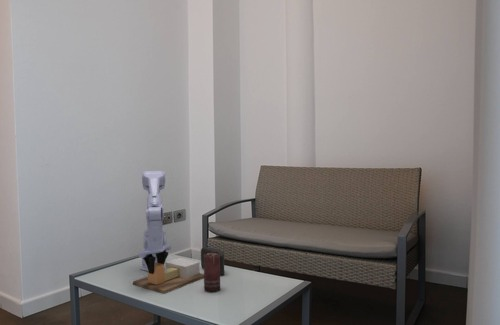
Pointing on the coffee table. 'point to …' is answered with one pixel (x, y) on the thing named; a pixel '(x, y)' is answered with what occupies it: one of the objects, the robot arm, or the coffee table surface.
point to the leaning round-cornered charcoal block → (206, 249)
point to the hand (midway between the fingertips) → (155, 271)
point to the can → (211, 271)
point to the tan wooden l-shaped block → (162, 274)
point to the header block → (184, 267)
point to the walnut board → (168, 283)
